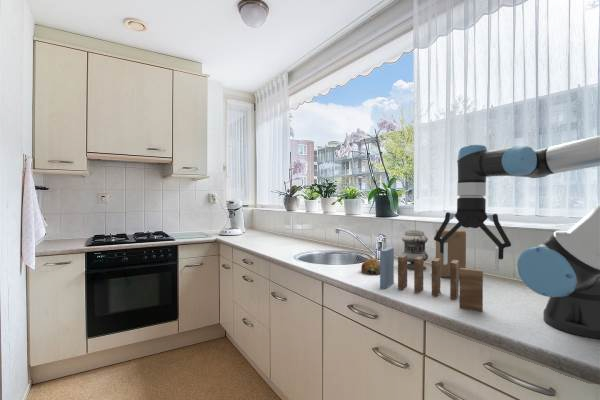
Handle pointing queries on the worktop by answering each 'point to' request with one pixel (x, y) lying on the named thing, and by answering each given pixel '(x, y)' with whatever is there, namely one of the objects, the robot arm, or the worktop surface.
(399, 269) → the domino
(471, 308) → the loose domino
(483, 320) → the worktop surface
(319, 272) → the worktop surface
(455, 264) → the domino
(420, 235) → the grey tall rounded piece
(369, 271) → the brown furry rounded lump
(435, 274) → the domino
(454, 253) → the wooden block
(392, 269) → the board
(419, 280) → the domino
